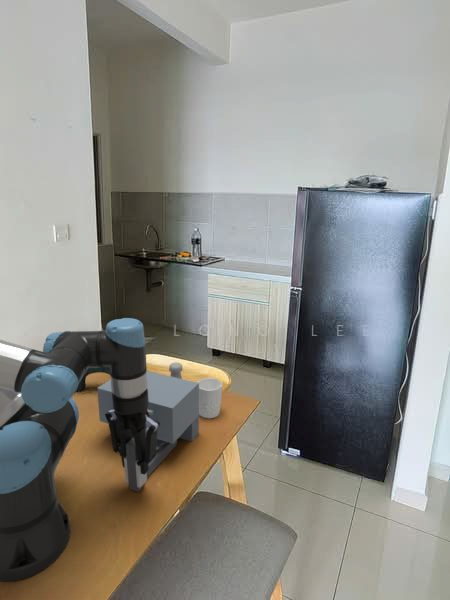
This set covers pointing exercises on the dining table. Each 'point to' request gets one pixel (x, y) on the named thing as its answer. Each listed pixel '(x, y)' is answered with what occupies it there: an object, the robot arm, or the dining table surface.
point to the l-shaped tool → (159, 457)
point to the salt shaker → (175, 370)
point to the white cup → (209, 397)
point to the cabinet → (164, 406)
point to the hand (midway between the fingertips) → (136, 481)
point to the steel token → (160, 444)
